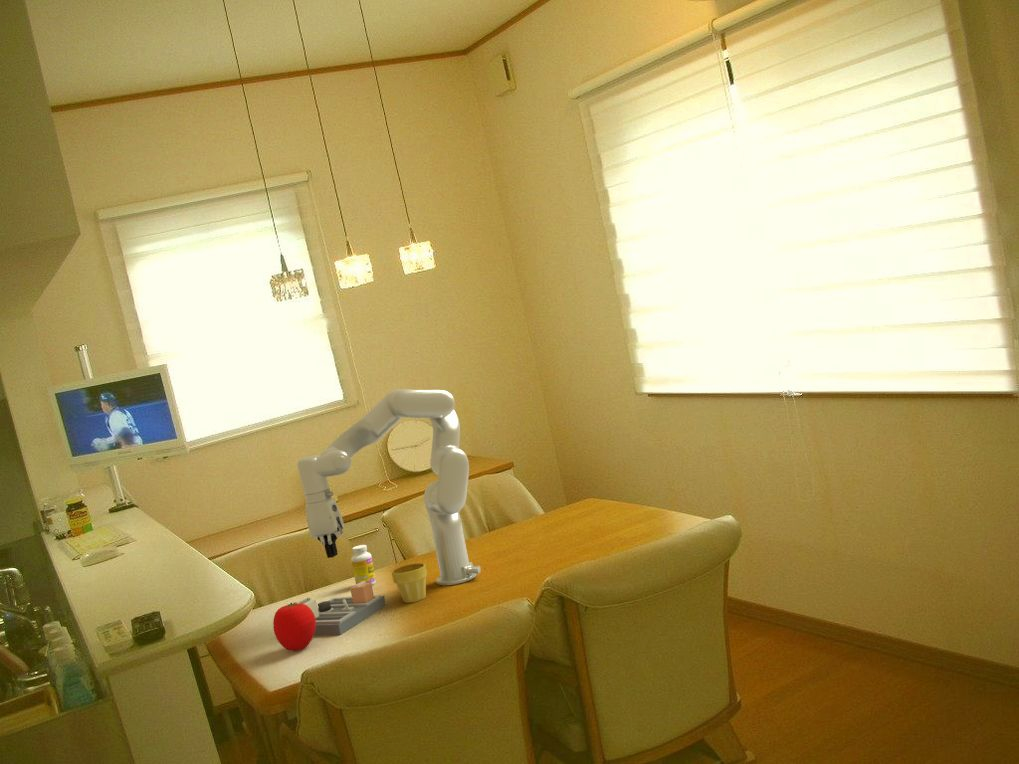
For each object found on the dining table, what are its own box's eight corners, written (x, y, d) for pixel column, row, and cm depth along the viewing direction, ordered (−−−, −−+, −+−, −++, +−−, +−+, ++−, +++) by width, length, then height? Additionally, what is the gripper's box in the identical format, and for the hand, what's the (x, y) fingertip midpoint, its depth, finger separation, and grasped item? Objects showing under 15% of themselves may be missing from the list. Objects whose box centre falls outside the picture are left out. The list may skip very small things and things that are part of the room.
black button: (333, 607, 298) (332, 600, 298) (326, 611, 295) (325, 604, 295) (323, 607, 300) (322, 601, 300) (316, 611, 297) (315, 605, 297)
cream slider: (319, 616, 293) (315, 597, 292) (310, 621, 289) (306, 602, 288) (306, 616, 295) (303, 597, 294) (297, 622, 291) (293, 603, 290)
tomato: (269, 657, 272) (260, 611, 272) (292, 642, 283) (283, 598, 282) (305, 655, 268) (296, 608, 267) (326, 640, 278) (317, 595, 278)
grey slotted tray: (386, 605, 303) (382, 584, 303) (340, 634, 281) (336, 611, 281) (336, 608, 311) (332, 587, 310) (288, 636, 289) (284, 614, 289)
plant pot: (391, 602, 306) (384, 571, 305) (419, 592, 312) (413, 561, 311) (409, 606, 297) (402, 574, 297) (438, 595, 303) (432, 564, 303)
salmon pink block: (374, 598, 301) (370, 580, 301) (366, 603, 297) (362, 585, 297) (361, 599, 303) (358, 581, 303) (353, 604, 299) (349, 585, 299)
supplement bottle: (372, 586, 329) (365, 548, 328) (353, 589, 331) (346, 550, 330) (379, 580, 336) (372, 542, 335) (360, 583, 337) (353, 545, 336)
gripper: (345, 490, 302) (360, 550, 303) (305, 496, 308) (319, 554, 310) (331, 497, 295) (346, 558, 297) (290, 503, 302) (305, 562, 303)
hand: (332, 556), depth 303 cm, fingers closed
